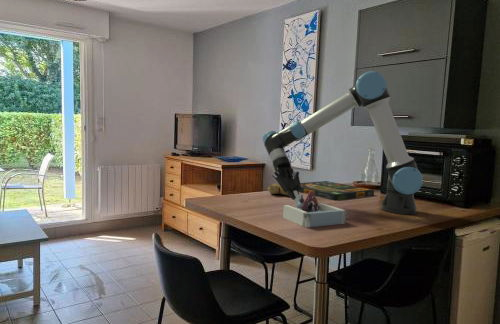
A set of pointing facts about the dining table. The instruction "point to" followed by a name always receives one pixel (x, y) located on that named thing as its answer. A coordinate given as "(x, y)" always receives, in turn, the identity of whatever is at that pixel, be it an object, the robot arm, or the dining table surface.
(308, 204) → the brake caliper
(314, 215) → the cradle
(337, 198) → the pizza box
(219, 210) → the dining table surface
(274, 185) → the ginger root
